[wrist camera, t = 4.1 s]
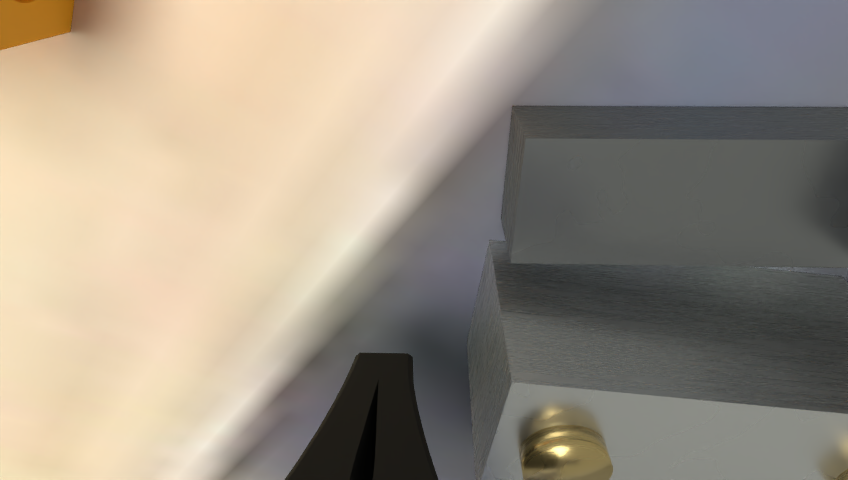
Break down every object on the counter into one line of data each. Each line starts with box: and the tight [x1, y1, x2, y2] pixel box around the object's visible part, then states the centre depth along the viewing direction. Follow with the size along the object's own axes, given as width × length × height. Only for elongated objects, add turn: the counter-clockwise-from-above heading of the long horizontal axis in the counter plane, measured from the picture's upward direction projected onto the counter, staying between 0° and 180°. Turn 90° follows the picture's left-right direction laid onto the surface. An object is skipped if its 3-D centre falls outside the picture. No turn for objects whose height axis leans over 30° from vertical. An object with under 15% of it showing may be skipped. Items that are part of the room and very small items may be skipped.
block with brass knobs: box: [467, 240, 848, 480], centre depth 12 cm, size 4×10×6 cm, turn 84°
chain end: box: [501, 106, 848, 268], centre depth 12 cm, size 12×12×5 cm
